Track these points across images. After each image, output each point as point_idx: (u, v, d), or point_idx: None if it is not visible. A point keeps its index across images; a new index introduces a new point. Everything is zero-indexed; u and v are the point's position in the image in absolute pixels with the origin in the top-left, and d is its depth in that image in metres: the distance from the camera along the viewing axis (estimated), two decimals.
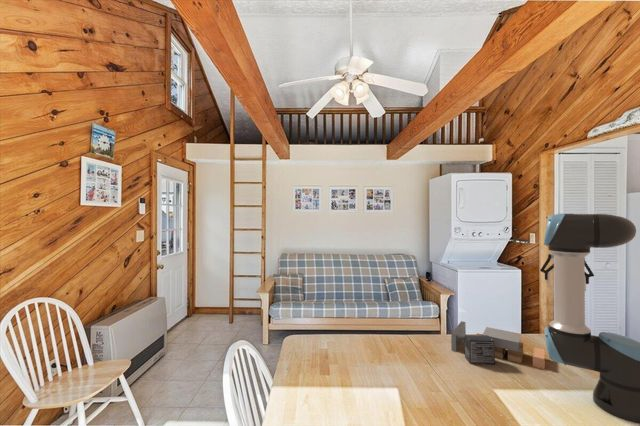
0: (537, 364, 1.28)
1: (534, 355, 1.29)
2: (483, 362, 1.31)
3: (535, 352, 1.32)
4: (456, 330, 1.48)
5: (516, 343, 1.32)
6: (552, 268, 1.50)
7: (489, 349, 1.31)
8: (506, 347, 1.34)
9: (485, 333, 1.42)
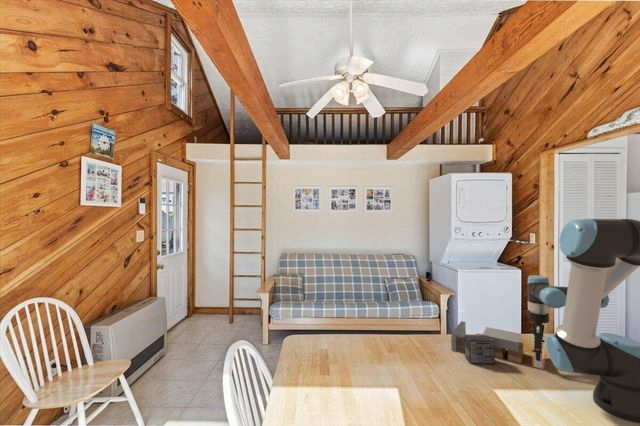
0: None
1: None
2: (483, 362, 1.31)
3: None
4: (456, 330, 1.48)
5: (516, 343, 1.32)
6: None
7: (489, 349, 1.31)
8: (506, 347, 1.34)
9: (485, 333, 1.42)
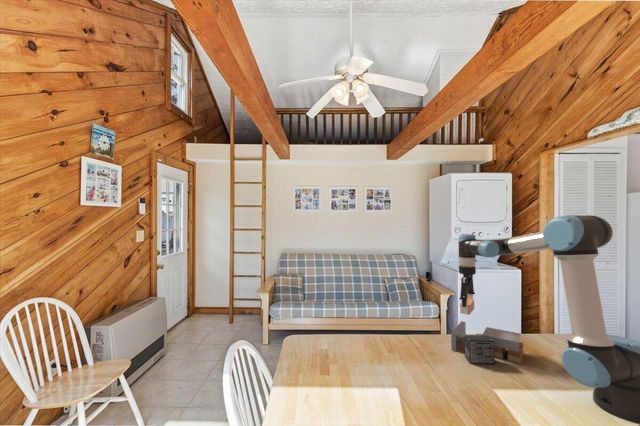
0: None
1: None
2: (483, 362, 1.31)
3: None
4: (456, 330, 1.48)
5: (516, 343, 1.32)
6: None
7: (489, 349, 1.31)
8: (506, 347, 1.34)
9: (485, 333, 1.42)
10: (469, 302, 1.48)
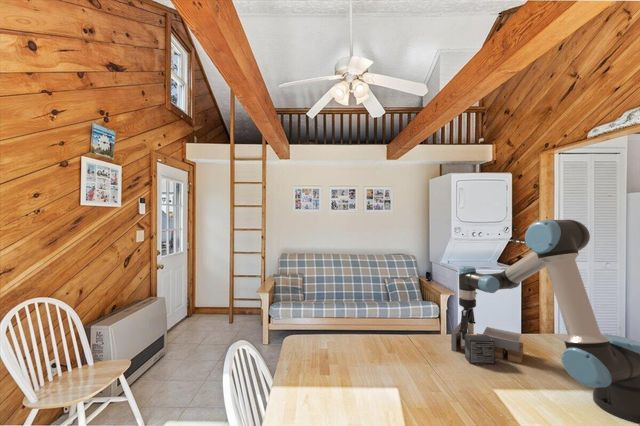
0: (464, 347, 1.45)
1: None
2: (483, 362, 1.31)
3: None
4: (456, 330, 1.48)
5: (516, 343, 1.32)
6: None
7: (489, 349, 1.31)
8: (506, 347, 1.34)
9: (485, 333, 1.42)
10: None
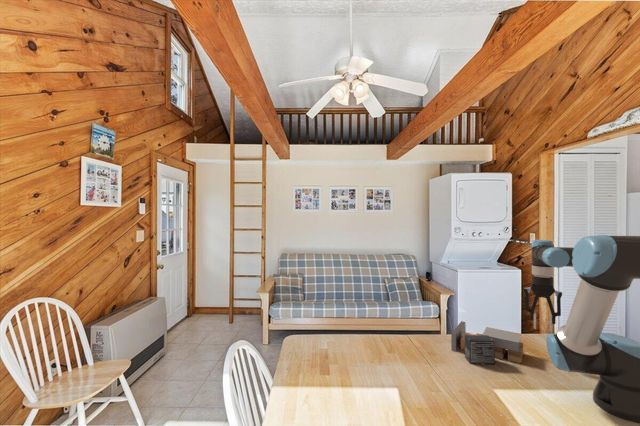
0: (464, 346, 1.45)
1: (462, 339, 1.47)
2: (483, 362, 1.31)
3: (464, 337, 1.49)
4: (456, 330, 1.48)
5: (516, 343, 1.32)
6: (535, 305, 1.32)
7: (489, 349, 1.31)
8: (506, 347, 1.34)
9: (485, 333, 1.42)
10: None
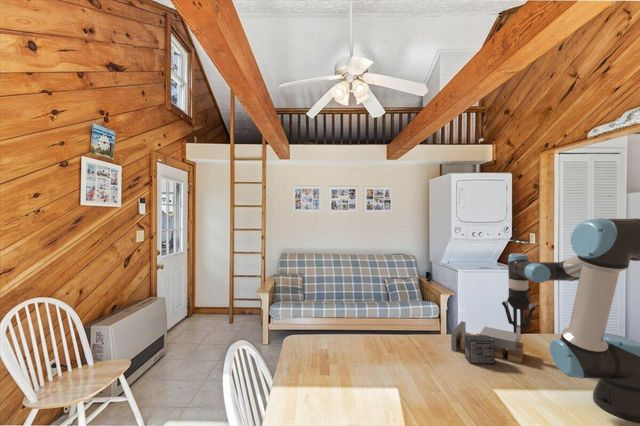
0: (464, 346, 1.45)
1: (462, 339, 1.47)
2: (483, 362, 1.31)
3: (464, 337, 1.49)
4: (456, 330, 1.48)
5: (513, 342, 1.33)
6: (516, 317, 1.36)
7: (489, 349, 1.31)
8: (503, 346, 1.35)
9: (482, 332, 1.42)
10: None
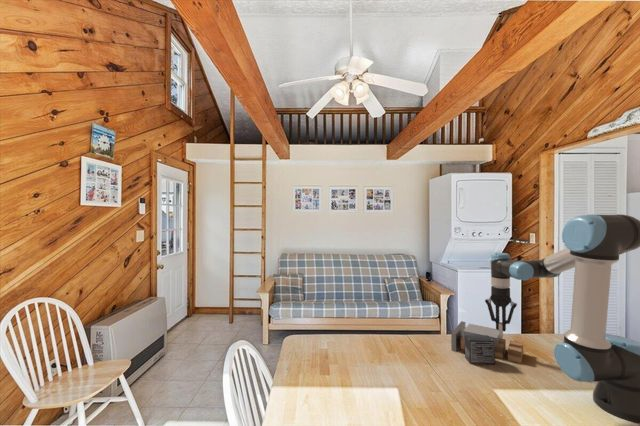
0: (464, 346, 1.45)
1: (462, 339, 1.47)
2: (483, 362, 1.31)
3: None
4: (456, 330, 1.48)
5: (495, 339, 1.37)
6: (498, 314, 1.40)
7: (489, 349, 1.31)
8: None
9: (466, 329, 1.46)
10: None
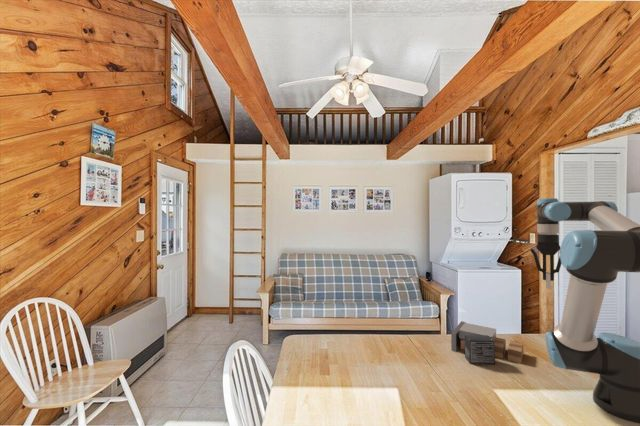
0: (464, 346, 1.45)
1: (462, 339, 1.47)
2: (483, 362, 1.31)
3: None
4: (456, 330, 1.48)
5: None
6: (545, 264, 1.32)
7: (489, 349, 1.31)
8: None
9: (462, 328, 1.48)
10: None
